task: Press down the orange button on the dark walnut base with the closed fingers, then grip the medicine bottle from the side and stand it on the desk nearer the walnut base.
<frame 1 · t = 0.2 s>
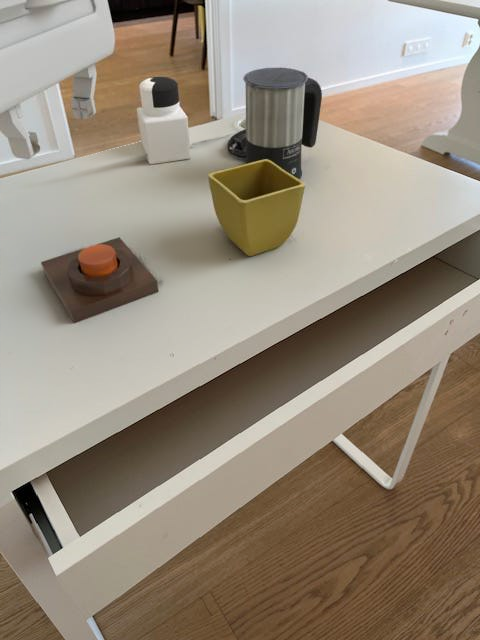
hand: (58, 134, 47), 18 cm above the table, tool pointing down, fingers open, 8 cm apart
button base: (100, 282, 60), on the table
flower pot: (255, 244, 66), on the table
medicine bottle: (166, 155, 88), on the table
milk frother: (261, 166, 84), on the table
button: (98, 260, 57), point 4 cm above the table, slide at 0.1 cm
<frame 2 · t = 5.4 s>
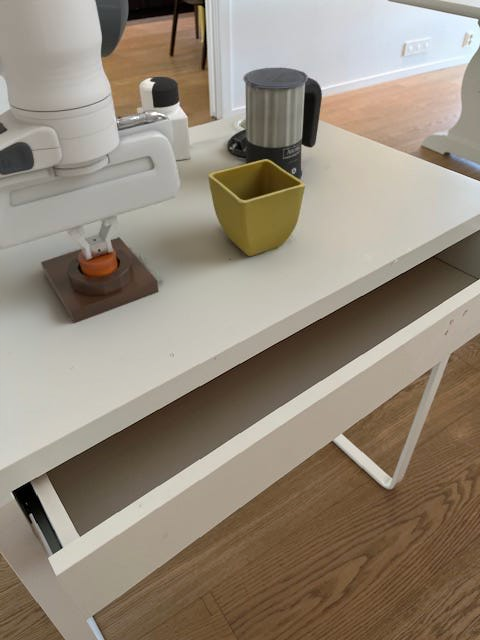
hand: (98, 253, 56), 5 cm above the table, tool pointing down, fingers closed, pressing on button
button: (98, 260, 57), point 4 cm above the table, slide at 0.1 cm, touching gripper
everything else where it was.
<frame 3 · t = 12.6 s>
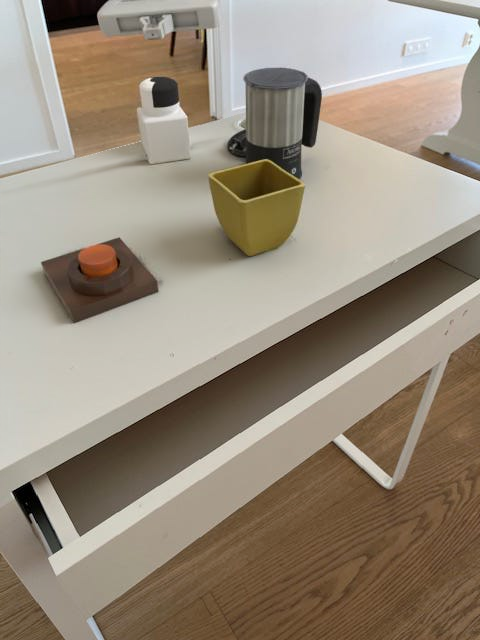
hand: (152, 35, 80), 17 cm above the table, tool horizontal, fingers closed
button: (98, 260, 57), point 4 cm above the table, slide at 0.1 cm
everything else where it was.
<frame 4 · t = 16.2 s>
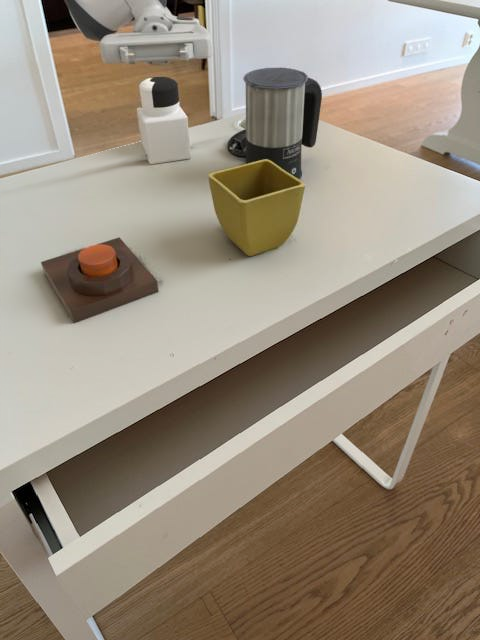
hand: (157, 57, 89), 12 cm above the table, tool horizontal, fingers open, 8 cm apart
nothing on the table moved.
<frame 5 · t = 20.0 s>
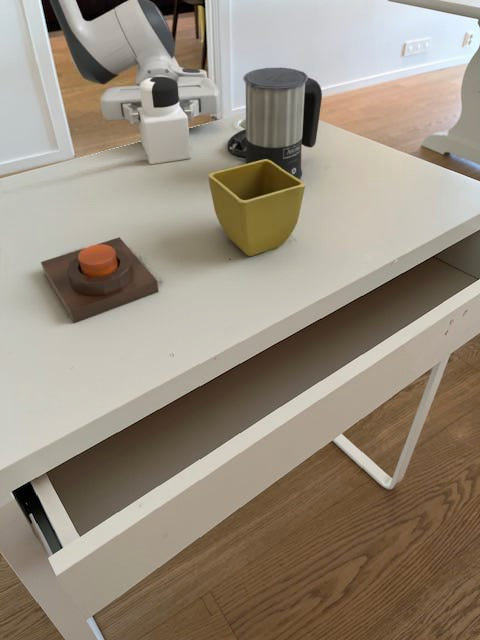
hand: (162, 117, 83), 6 cm above the table, tool horizontal, fingers closed on medicine bottle, 7 cm apart
medicine bottle: (166, 155, 88), on the table, touching gripper
everything else where it was.
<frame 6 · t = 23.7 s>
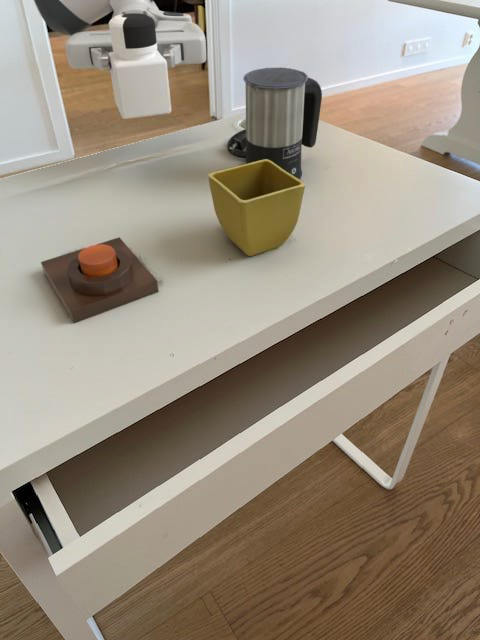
hand: (137, 62, 70), 17 cm above the table, tool horizontal, fingers closed on medicine bottle, 7 cm apart
medicine bottle: (143, 110, 75), point 10 cm above the table, touching gripper
everything else where it was.
when the fingers open (6 cm above the table, at t = 27.8 s): medicine bottle stays where it is, on the table.
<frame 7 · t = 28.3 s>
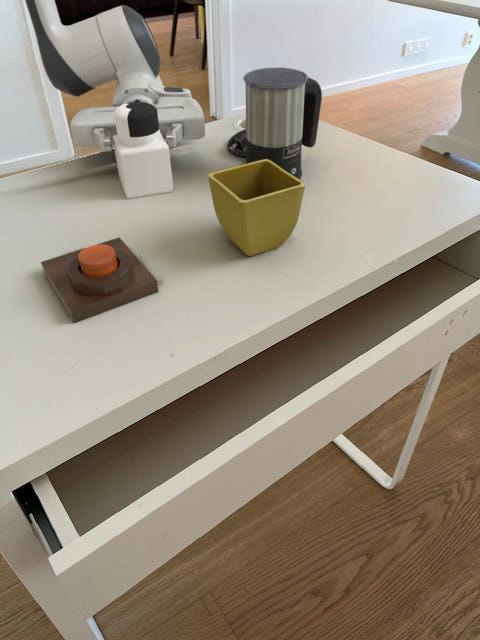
hand: (139, 144, 74), 7 cm above the table, tool horizontal, fingers open, 8 cm apart
medicine bottle: (146, 187, 79), on the table
everything else where it was.
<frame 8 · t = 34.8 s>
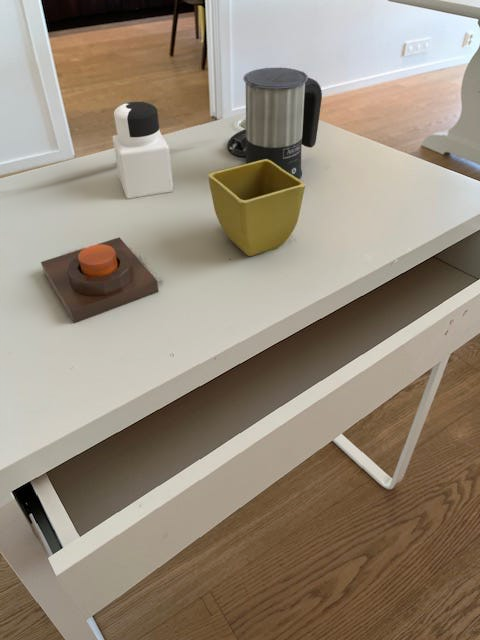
nothing on the table moved.
at the end: button pushed in 1.0 cm at the most during the clip, back to where it started at the end; medicine bottle 0.1 cm from the target spot, on the table; medicine bottle tilted 0° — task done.
